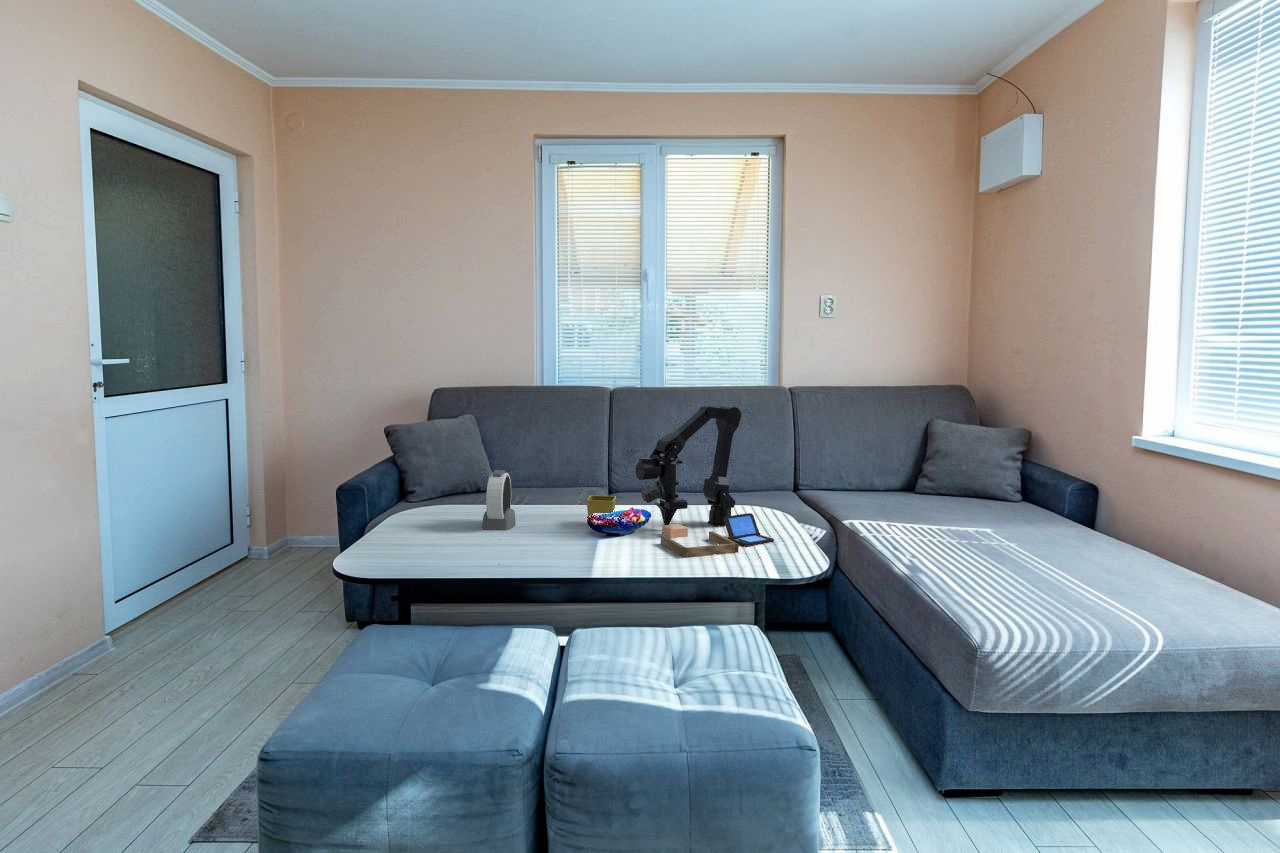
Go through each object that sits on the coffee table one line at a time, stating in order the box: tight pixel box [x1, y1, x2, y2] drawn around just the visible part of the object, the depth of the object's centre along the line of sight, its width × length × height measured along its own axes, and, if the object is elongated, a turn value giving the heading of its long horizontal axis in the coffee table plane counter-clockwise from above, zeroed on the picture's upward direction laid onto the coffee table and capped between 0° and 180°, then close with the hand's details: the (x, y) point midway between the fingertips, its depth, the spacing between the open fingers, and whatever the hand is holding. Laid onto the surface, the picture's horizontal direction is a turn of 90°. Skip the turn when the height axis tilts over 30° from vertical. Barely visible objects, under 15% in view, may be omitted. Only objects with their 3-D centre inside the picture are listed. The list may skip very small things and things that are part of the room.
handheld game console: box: [723, 512, 775, 548], centre depth 239 cm, size 12×11×7 cm
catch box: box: [660, 530, 740, 559], centre depth 230 cm, size 17×16×2 cm
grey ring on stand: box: [482, 469, 516, 531], centre depth 253 cm, size 16×10×18 cm, turn 179°
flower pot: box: [586, 494, 617, 518], centre depth 257 cm, size 9×9×9 cm
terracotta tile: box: [661, 523, 689, 539], centre depth 245 cm, size 6×6×3 cm
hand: (666, 525), depth 251 cm, fingers closed
